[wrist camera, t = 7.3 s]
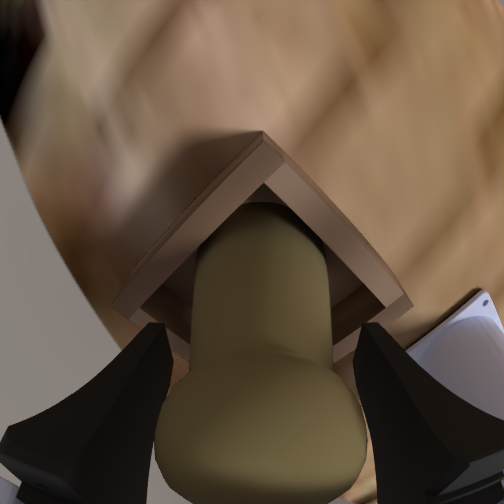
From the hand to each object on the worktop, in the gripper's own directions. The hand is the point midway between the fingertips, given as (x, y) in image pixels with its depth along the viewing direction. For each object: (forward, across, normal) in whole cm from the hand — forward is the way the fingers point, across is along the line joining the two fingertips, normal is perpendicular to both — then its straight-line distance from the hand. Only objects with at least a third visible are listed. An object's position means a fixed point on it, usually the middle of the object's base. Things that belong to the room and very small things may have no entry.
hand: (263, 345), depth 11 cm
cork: (+5, 0, -1) cm, 5 cm away
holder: (+6, 0, 0) cm, 6 cm away
